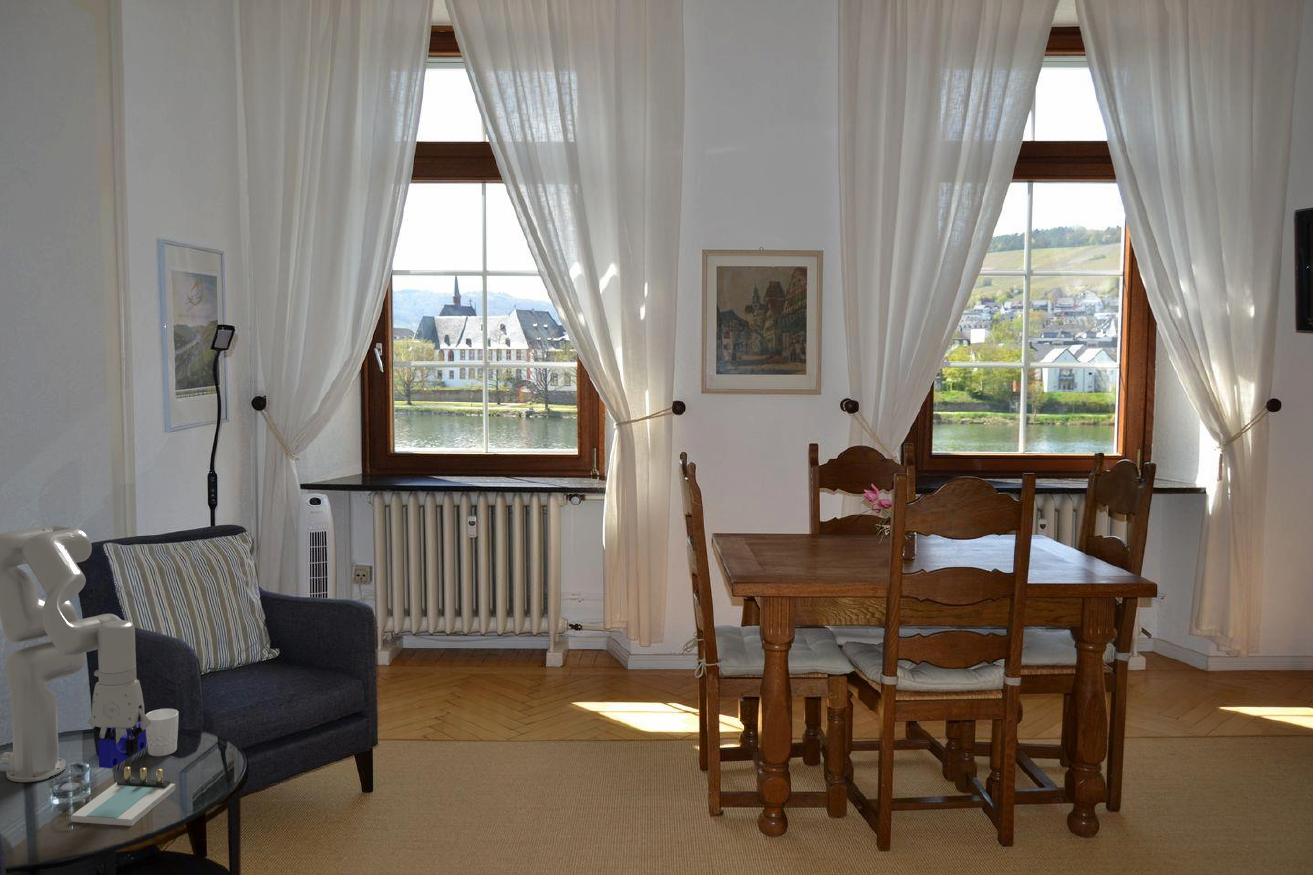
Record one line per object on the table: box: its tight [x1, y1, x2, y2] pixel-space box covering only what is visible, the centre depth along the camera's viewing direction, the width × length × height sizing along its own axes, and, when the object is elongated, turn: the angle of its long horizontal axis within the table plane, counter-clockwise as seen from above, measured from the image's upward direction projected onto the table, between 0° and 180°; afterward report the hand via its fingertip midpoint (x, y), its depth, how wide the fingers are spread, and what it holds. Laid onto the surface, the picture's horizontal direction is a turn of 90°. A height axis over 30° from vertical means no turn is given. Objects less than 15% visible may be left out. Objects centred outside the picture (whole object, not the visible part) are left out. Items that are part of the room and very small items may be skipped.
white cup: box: [145, 708, 179, 757], centre depth 269 cm, size 8×8×10 cm
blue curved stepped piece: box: [97, 722, 147, 769], centre depth 236 cm, size 12×4×6 cm, turn 171°
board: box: [70, 781, 176, 827], centre depth 239 cm, size 14×18×2 cm
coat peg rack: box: [116, 765, 171, 788], centre depth 247 cm, size 12×2×4 cm, turn 86°
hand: (120, 752), depth 236 cm, fingers closed on blue curved stepped piece, 4 cm apart
